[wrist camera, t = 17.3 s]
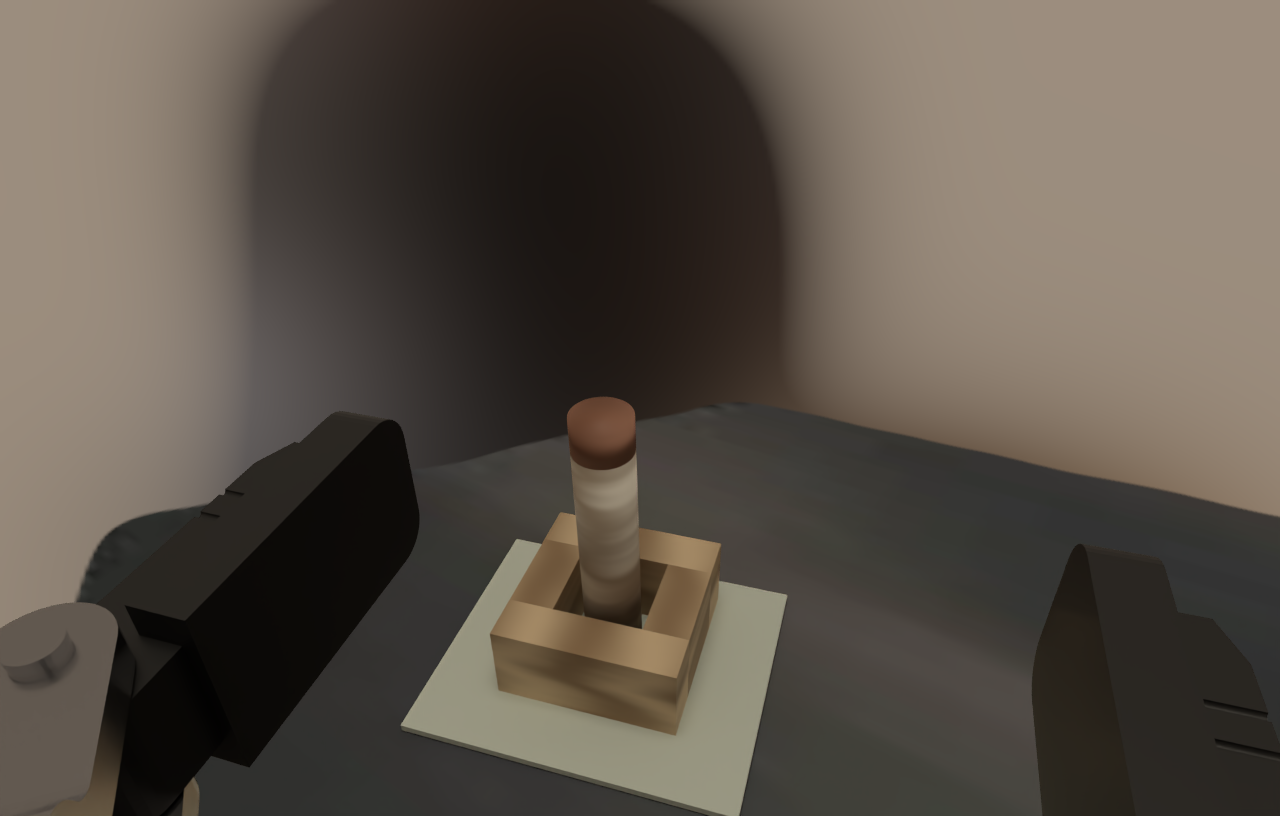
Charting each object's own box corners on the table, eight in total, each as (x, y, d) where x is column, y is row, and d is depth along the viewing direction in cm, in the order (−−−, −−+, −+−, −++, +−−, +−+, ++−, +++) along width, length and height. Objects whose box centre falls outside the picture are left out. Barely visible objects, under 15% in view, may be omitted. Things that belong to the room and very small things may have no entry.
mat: (786, 599, 52) (787, 595, 52) (737, 823, 41) (738, 818, 40) (517, 543, 57) (516, 539, 57) (401, 730, 45) (400, 725, 45)
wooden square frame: (718, 598, 52) (721, 543, 50) (675, 735, 44) (676, 678, 42) (564, 566, 55) (560, 512, 52) (498, 690, 47) (489, 633, 44)
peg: (649, 627, 50) (643, 401, 41) (633, 670, 48) (623, 440, 39) (597, 616, 51) (580, 393, 42) (579, 658, 48) (556, 430, 39)
